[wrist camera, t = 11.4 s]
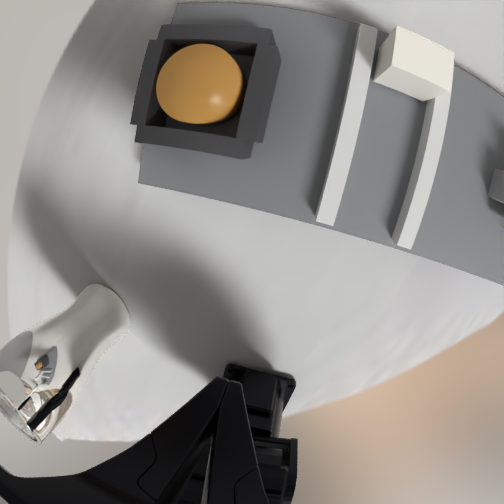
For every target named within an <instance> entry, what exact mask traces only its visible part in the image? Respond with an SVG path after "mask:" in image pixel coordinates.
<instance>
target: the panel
mask: <svg viewBox="0 0 504 504" xmlns="http://www.w3.org/2000/svg"><path fill="white" fill-rule="evenodd" d="M388 36H389V35H388V34H386V33H383V32H380V31H378V28H375V27H372V26H369V25H366V24H363V23H361V24H360V25H359V24H356V23H352V22H349V21H345V20H341V19H338V18H334V17H330V16H325V15H321V14H316V13H311V12H306V11H301V10H295V9H289V8H282V7H275V6H266V5H256V4H243V3H181V4H178V5H177V8H176V11H175V14H174V17H173V20H172V23H171V25H162V26H161V29H160V32H159V35H158V38H157V40H150V41H149V44H148V48H147V51H146V55H145V58H144V62H143V66H142V70H141V74H140V78H139V83H138V87H137V92H136V96H135V101H134V106H133V112H132V117H131V123H130V124H134V125H137V130H136V136H135V142H138V143H143V149H142V156H141V164H140V171H139V180H138V183H140V184H145V185H150V186H155V187H160V188H165V189H170V190H174V191H179V192H184V193H188V194H193V195H197V196H202V197H206V198H210V199H215V200H219V201H223V202H228V203H232V204H236V205H240V206H244V207H248V208H252V209H256V210H260V211H264V212H268V213H272V214H276V215H280V216H284V217H288V218H291V219H295V220H299V221H303V222H306V223H310V224H314V225H317V226H321V227H325V228H328V229H332V230H335V231H339V232H342V233H346V234H349V235H353V236H356V237H360V238H363V239H366V240H370V241H373V242H376V243H380V244H383V245H386V246H389V247H393V248H396V249H399V250H402V251H405V252H409V253H412V254H415V255H418V256H421V257H424V258H427V259H430V260H433V261H436V262H439V263H442V264H445V265H448V266H451V267H454V268H457V269H460V270H462V271H465V272H468V273H471V274H474V275H476V276H479V277H482V278H485V279H487V280H490V281H493V282H496V283H498V284H501V285H504V229H503V228H502V227H501V226H500V224H501V222H502V219H503V217H504V97H503V96H502V95H500V94H499V93H497V92H496V91H495V90H493V89H492V88H490V87H489V86H487V85H486V84H484V83H483V82H481V81H480V80H478V79H477V78H475V77H474V76H472V75H470V74H469V73H467V72H465V71H464V70H462V69H460V68H458V67H457V66H455V65H454V66H453V77H452V86H451V93H447V94H444V95H441V96H438V97H435V98H432V99H429V100H426V101H421V100H418V99H416V98H414V97H412V96H409V95H407V94H405V93H402V92H400V91H397V90H395V89H392V88H390V87H387V86H384V85H382V84H379V83H376V82H373V81H374V76H375V70H376V64H377V58H378V52H379V47H380V46H381V45H382V43H383V42H384V41H385V40H386V38H387V37H388ZM195 44H211V45H215V46H217V47H220V48H222V49H223V50H225V51H226V52H227V53H228V54H229V55H230V56H231V57H232V58H233V59H234V60H235V62H236V63H237V64H238V65H239V66H240V68H241V69H242V70H243V72H244V74H245V76H246V79H247V90H246V94H245V98H244V103H243V105H242V107H241V108H240V110H239V111H238V112H237V113H236V114H235V115H234V116H233V117H231V118H230V119H229V120H227V121H225V122H223V123H220V124H217V125H211V126H204V125H198V124H192V123H187V122H181V121H178V120H176V119H174V118H172V117H170V116H169V115H168V114H167V113H166V112H165V111H164V110H163V109H162V107H161V106H160V104H159V101H158V99H157V94H156V84H157V79H158V75H159V73H160V71H161V69H162V67H163V65H164V64H165V63H166V61H167V60H168V59H169V58H170V57H171V56H172V55H173V54H175V53H176V52H178V51H179V50H181V49H183V48H185V47H188V46H191V45H195Z"/></svg>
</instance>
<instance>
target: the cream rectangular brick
mask: <svg viewBox="0 0 504 504" xmlns="http://www.w3.org/2000/svg"><path fill="white" fill-rule="evenodd" d="M453 66H454V52H452V51H450V50H448V49H447V48H445V47H443V46H441V45H439V44H437V43H435V42H433V41H431V40H429V39H427V38H425V37H423V36H420V35H418V34H416V33H414V32H411V31H409V30H407V29H404V28H402V27H400V26H396V27H395V28H394V30H393V31H392V32H391V33H390V35H389V36H388V37H387V38H386V40H385V41H384V42H383V43H382V45H381V46H380V47H379V52H378V58H377V64H376V70H375V76H374V81H373V82H376V83H379V84H382V85H384V86H387V87H390V88H392V89H395V90H397V91H400V92H402V93H405V94H407V95H409V96H412V97H414V98H416V99H418V100H421V101H426V100H429V99H432V98H435V97H438V96H441V95H444V94H447V93H451V86H452V77H453Z"/></svg>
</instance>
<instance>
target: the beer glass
mask: <svg viewBox="0 0 504 504" xmlns="http://www.w3.org/2000/svg"><path fill="white" fill-rule="evenodd" d="M129 329H130V316H129V313H128V310H127V308H126V306H125V304H124V303H123V301H122V300H121V299H120V298H119V296H118V295H117V294H116V293H115V292H113V291H112V290H111V289H109V288H108V287H106V286H104V285H101V284H91V285H88V286H87V287H86V288H85V289H84V290H83V291H82V292H81V293H80V294H79V296H78V297H77V298H76V299H75V301H74V302H73V303H72V304H71V305H69V306H68V307H67V308H65V309H64V310H63V311H61V312H59V313H57V314H55V315H53V316H51V317H49V318H47V319H45V320H43V321H41V322H39V323H37V324H35V325H33V326H32V327H30V328H28V329H27V330H25V331H23V332H22V333H20V334H19V335H17V336H16V337H15V338H14V339H12V340H11V341H10V342H9V343H7V344H6V345H5V346H4V347H3V348H2V349H1V350H0V412H1V413H2V414H3V415H4V416H5V417H6V418H7V419H8V421H9V422H10V423H11V424H12V425H13V426H14V427H16V428H17V429H18V430H19V431H20V432H21V433H22V434H23V435H24V436H26V437H27V438H28V439H30V440H31V441H33V442H34V443H36V444H38V445H40V444H41V443H42V442H43V440H44V439H45V438H46V437H47V436H48V435H49V434H50V433H51V432H52V431H53V430H54V429H55V428H56V427H57V425H58V424H59V423H60V422H61V421H62V420H63V419H64V417H65V416H66V415H67V414H68V413H69V411H70V410H71V409H72V407H73V406H74V404H75V403H76V402H77V400H78V399H79V397H80V395H81V393H82V392H83V390H84V388H85V386H86V385H87V383H88V381H89V379H90V377H91V375H92V373H93V371H94V369H95V367H96V365H97V364H98V362H99V360H100V358H101V357H102V355H103V354H104V353H105V351H106V350H107V349H108V348H109V347H110V346H111V345H113V344H114V343H115V342H117V341H118V340H120V339H121V338H122V337H124V336H125V335H126V334H127V333H128V331H129Z"/></svg>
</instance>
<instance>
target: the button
mask: <svg viewBox="0 0 504 504" xmlns="http://www.w3.org/2000/svg"><path fill="white" fill-rule="evenodd" d="M246 90H247V79H246V76H245V74H244V72H243V70H242V69H241V68H240V66H239V65H238V64H237V63H236V62H235V60H234V59H233V58H232V57H231V56H230V55H229V54H228V53H227V52H226V51H225V50H223V49H222V48H220V47H217V46H215V45H211V44H195V45H191V46H188V47H185V48H183V49H181V50H179V51H178V52H176V53H175V54H173V55H172V56H171V57H170V58H169V59H168V60H167V61H166V63H165V64H164V65H163V67H162V69H161V71H160V73H159V75H158V79H157V84H156V94H157V99H158V101H159V104H160V106H161V107H162V109H163V110H164V111H165V112H166V113H167V114H168V115H169V116H170V117H172V118H174V119H176V120H178V121H181V122H187V123H192V124H198V125H204V126H211V125H217V124H220V123H223V122H225V121H227V120H229V119H230V118H231V117H233V116H234V115H235V114H236V113H237V112H238V111H239V110H240V108H241V107H242V105H243V103H244V98H245V94H246Z"/></svg>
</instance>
